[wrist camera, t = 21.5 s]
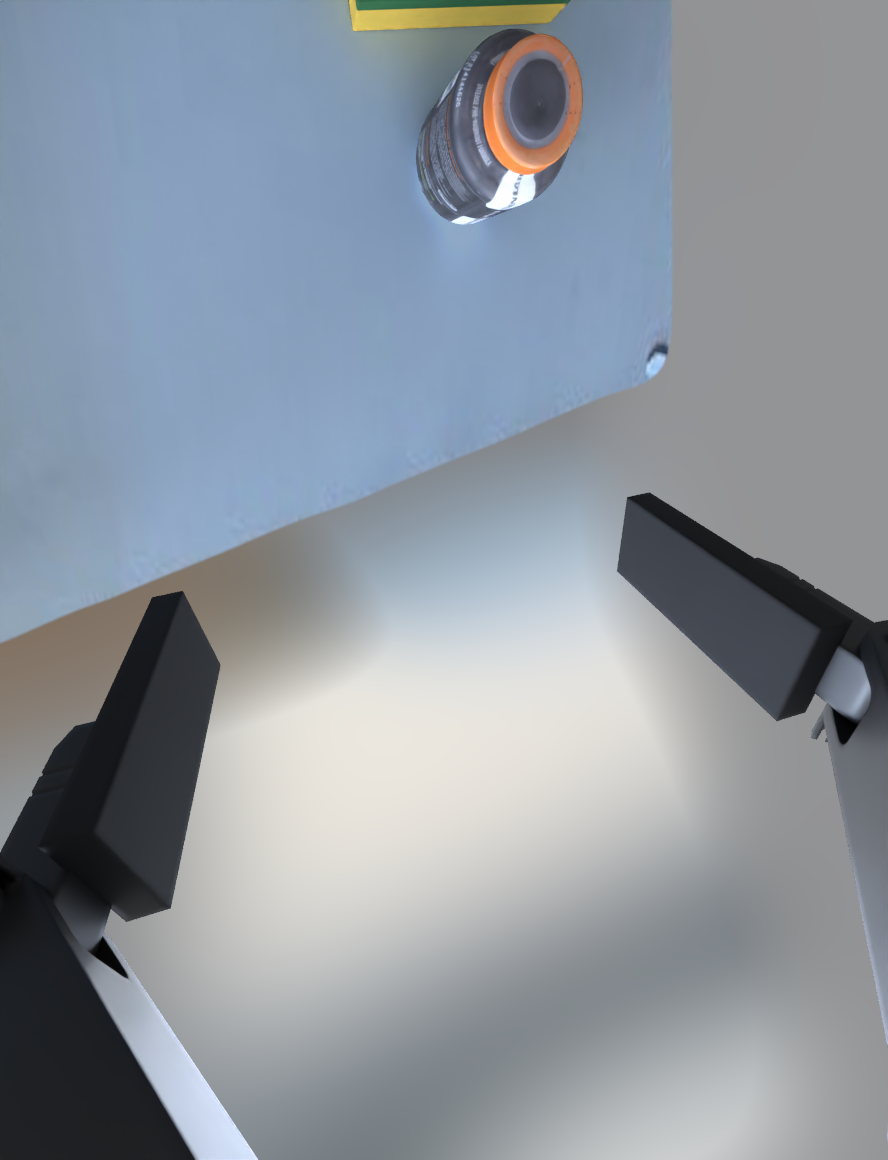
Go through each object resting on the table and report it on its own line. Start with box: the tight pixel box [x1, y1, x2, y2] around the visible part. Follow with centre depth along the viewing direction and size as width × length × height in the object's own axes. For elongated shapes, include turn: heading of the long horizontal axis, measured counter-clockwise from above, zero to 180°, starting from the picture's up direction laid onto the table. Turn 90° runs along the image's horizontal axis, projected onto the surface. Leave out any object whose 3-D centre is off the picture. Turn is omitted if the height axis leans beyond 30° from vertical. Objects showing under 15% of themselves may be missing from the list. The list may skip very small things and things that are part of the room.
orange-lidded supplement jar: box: [416, 29, 583, 224], centre depth 24 cm, size 6×6×11 cm
